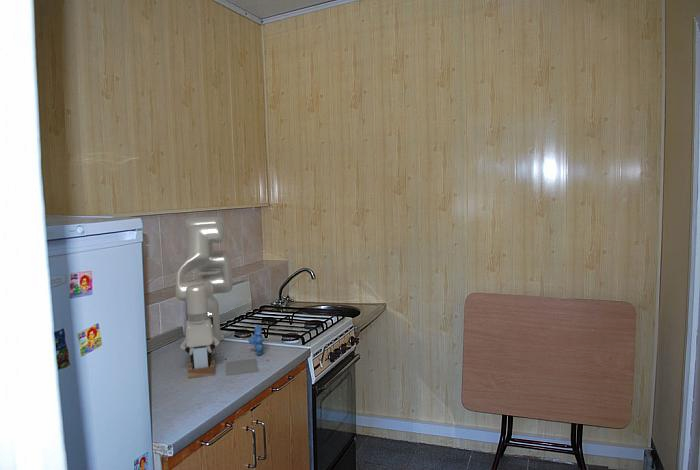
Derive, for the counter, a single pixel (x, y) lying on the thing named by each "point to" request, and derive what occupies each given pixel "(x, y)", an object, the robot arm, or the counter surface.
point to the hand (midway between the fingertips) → (201, 362)
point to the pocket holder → (201, 370)
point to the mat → (241, 367)
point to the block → (200, 357)
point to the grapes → (257, 340)
